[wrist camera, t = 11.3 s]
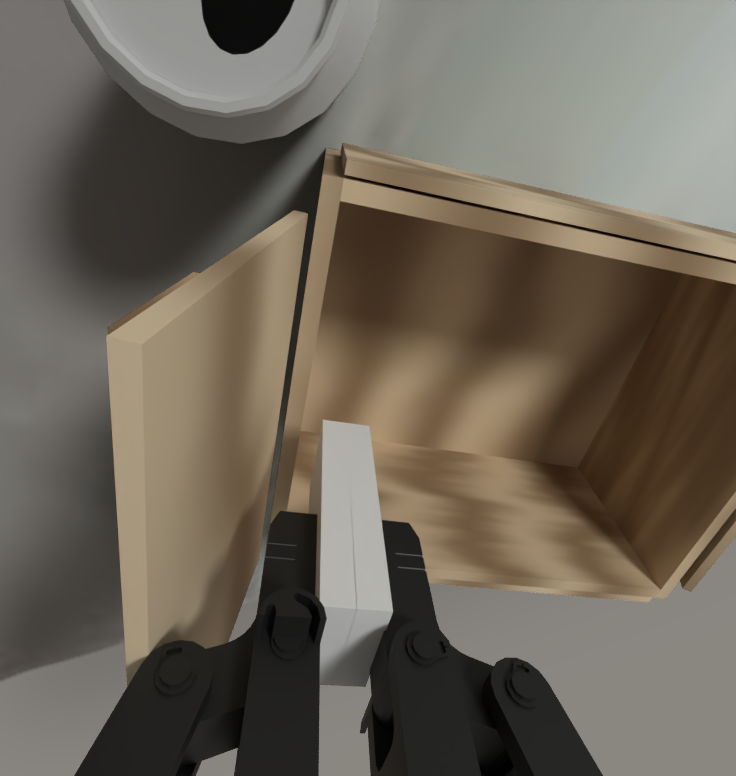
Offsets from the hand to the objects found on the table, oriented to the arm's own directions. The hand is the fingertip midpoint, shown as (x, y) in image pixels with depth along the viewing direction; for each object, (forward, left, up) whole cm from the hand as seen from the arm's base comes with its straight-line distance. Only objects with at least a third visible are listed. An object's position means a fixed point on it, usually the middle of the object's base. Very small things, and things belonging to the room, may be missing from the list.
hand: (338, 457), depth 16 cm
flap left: (-3, 0, +3) cm, 4 cm away
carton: (+8, 0, -12) cm, 15 cm away
